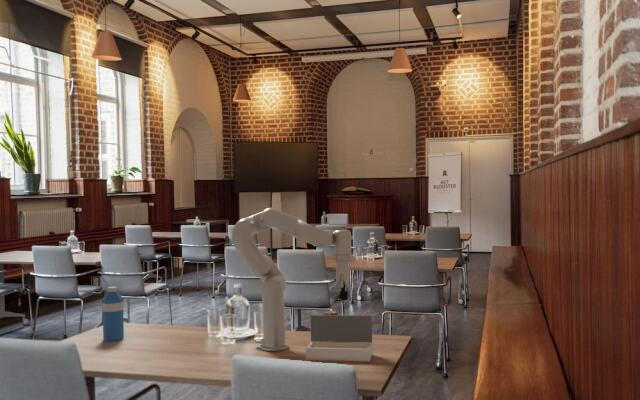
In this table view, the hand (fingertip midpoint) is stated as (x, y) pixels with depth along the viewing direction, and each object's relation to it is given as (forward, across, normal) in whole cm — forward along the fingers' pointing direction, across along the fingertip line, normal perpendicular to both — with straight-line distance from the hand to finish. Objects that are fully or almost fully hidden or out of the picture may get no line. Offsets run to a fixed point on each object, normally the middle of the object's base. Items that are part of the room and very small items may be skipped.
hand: (343, 299), depth 275 cm
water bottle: (+21, -7, -113) cm, 115 cm away
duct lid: (+11, +10, 0) cm, 15 cm away
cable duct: (+21, +16, 0) cm, 26 cm away
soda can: (+21, -19, -9) cm, 30 cm away
